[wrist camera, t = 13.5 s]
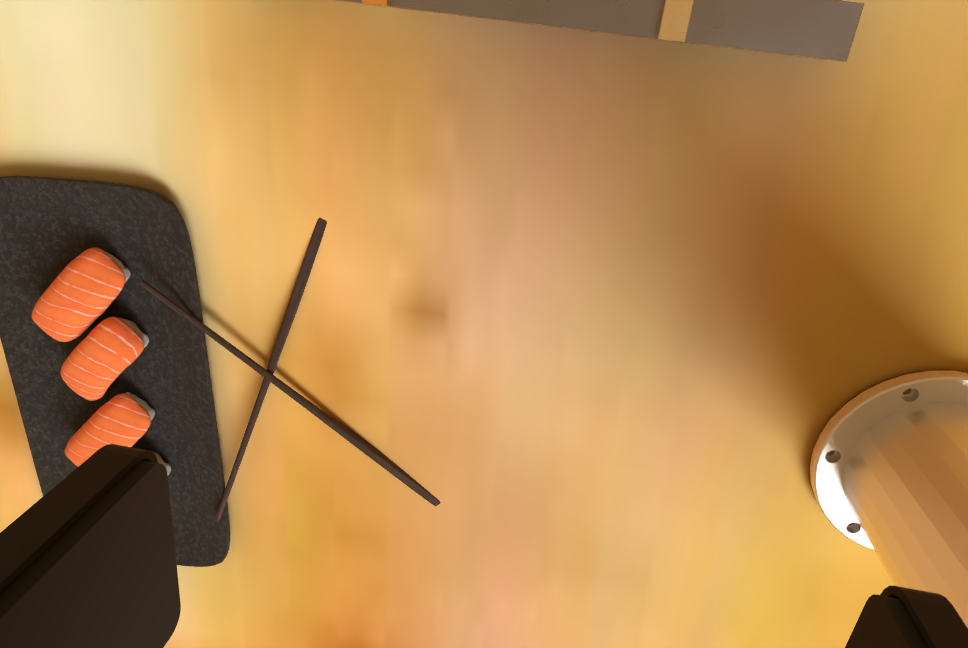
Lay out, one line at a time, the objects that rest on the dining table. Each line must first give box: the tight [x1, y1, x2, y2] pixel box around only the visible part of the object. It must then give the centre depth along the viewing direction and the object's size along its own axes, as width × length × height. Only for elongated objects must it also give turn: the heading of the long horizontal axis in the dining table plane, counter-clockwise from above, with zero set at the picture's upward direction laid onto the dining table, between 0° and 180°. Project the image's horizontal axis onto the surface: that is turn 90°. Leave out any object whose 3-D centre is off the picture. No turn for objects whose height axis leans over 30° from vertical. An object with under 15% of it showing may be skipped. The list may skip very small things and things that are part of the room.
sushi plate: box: [0, 176, 440, 567], centre depth 44 cm, size 29×30×4 cm
